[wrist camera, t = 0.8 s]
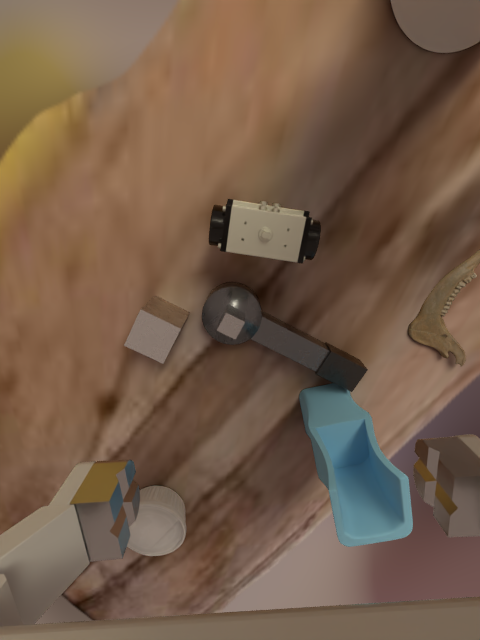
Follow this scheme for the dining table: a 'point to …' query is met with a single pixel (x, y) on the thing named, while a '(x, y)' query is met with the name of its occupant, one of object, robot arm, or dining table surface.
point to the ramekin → (158, 522)
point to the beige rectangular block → (156, 329)
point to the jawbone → (443, 311)
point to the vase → (355, 469)
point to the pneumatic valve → (264, 231)
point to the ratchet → (274, 334)
